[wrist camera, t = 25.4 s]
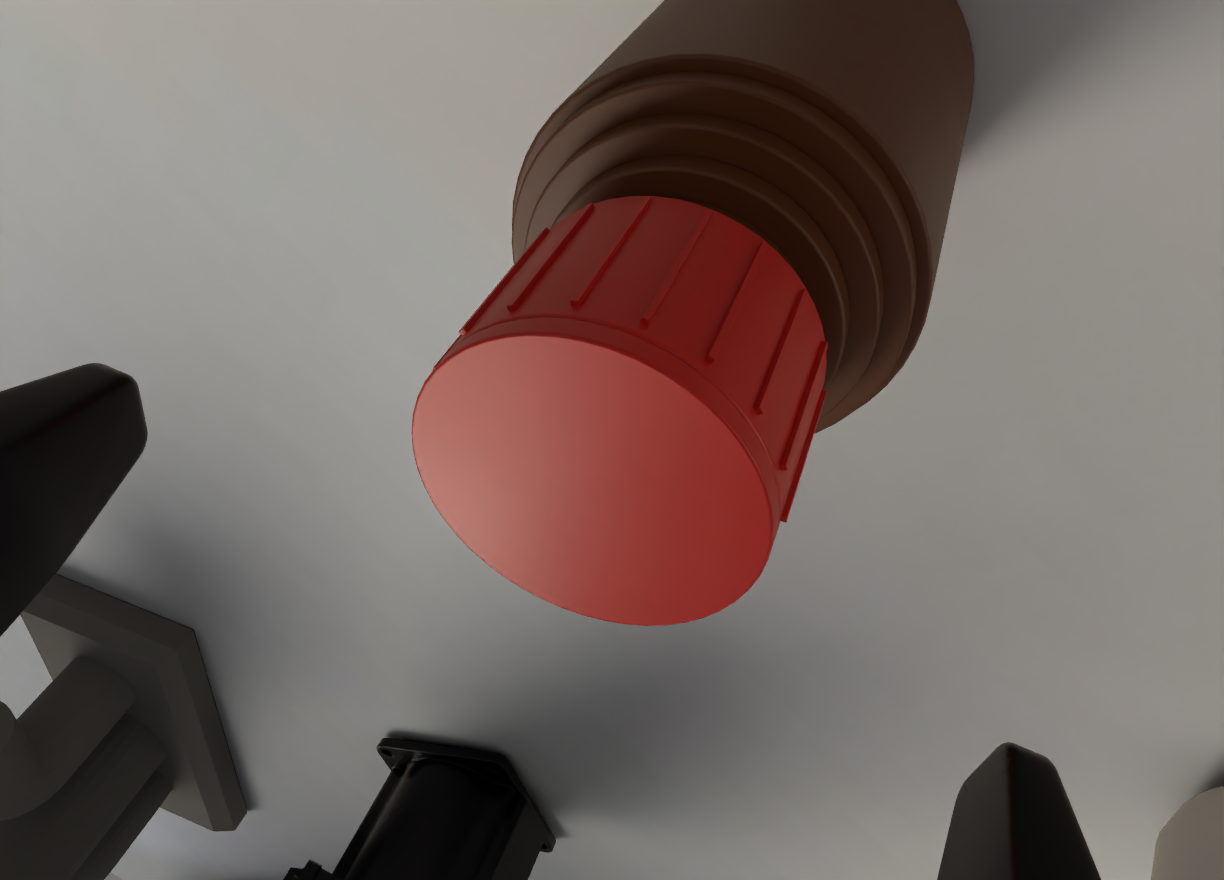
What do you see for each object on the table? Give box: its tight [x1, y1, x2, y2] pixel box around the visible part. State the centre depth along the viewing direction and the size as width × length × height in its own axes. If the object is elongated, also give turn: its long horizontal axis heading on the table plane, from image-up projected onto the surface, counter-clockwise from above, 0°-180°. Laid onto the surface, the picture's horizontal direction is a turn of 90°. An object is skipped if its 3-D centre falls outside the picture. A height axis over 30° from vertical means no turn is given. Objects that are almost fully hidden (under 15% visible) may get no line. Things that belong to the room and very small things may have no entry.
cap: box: [412, 196, 828, 626], centre depth 11 cm, size 4×4×3 cm
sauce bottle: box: [512, 0, 974, 434], centre depth 15 cm, size 6×6×11 cm
